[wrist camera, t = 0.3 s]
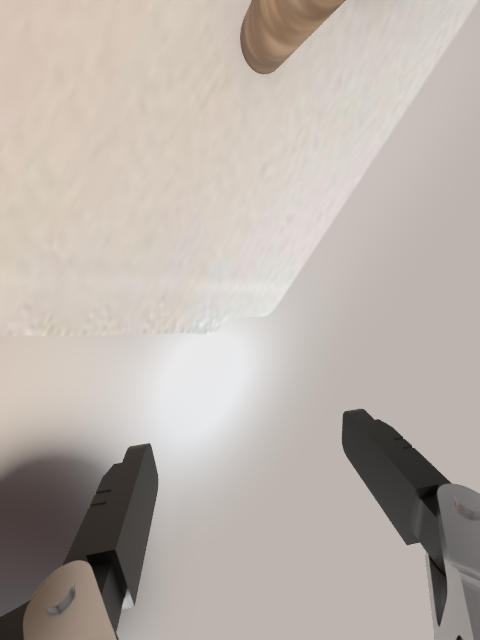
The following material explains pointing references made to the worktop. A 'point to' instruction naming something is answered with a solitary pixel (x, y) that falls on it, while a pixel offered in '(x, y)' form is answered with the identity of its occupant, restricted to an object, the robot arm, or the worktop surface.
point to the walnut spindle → (280, 29)
